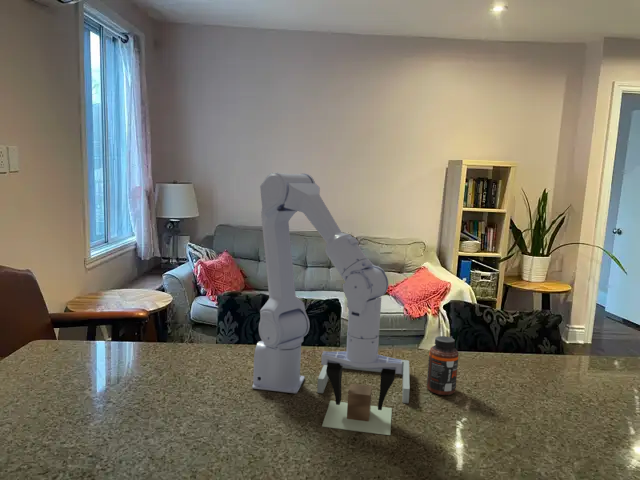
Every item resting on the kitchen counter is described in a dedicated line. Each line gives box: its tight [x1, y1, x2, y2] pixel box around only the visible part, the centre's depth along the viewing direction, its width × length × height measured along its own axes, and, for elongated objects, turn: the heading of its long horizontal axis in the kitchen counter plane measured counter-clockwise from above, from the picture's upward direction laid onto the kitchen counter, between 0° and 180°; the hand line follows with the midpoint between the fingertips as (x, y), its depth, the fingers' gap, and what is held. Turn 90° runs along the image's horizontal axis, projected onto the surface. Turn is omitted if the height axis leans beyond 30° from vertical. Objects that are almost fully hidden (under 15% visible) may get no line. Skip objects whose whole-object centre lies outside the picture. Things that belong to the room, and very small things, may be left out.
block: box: [347, 383, 373, 422], centre depth 90 cm, size 4×4×5 cm
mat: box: [321, 400, 393, 436], centre depth 90 cm, size 12×10×1 cm
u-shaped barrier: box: [316, 359, 411, 404], centre depth 105 cm, size 18×15×3 cm
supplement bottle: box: [426, 335, 459, 396], centre depth 102 cm, size 6×6×11 cm
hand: (359, 404), depth 90 cm, fingers open, 7 cm apart
